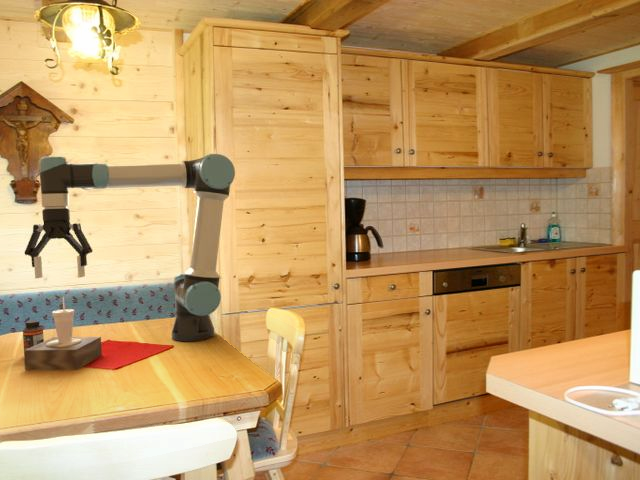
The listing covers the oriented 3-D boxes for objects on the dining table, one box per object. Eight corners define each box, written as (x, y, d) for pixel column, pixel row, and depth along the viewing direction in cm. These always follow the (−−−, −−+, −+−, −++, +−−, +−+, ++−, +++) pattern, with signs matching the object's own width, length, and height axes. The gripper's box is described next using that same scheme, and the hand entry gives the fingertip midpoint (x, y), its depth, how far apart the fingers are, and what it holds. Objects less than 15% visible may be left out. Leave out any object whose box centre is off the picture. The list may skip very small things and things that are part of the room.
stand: (101, 355, 184) (100, 335, 184) (77, 369, 168) (75, 348, 168) (54, 355, 185) (52, 336, 185) (25, 370, 169) (23, 349, 169)
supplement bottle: (20, 356, 185) (17, 322, 184) (36, 352, 190) (34, 318, 190) (32, 358, 182) (29, 323, 182) (48, 354, 188) (46, 320, 187)
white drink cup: (60, 345, 172) (57, 299, 171) (49, 342, 176) (46, 297, 175) (80, 341, 177) (77, 296, 176) (69, 338, 181) (66, 294, 180)
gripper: (101, 206, 176) (105, 274, 178) (23, 209, 178) (28, 276, 180) (89, 206, 169) (93, 278, 170) (9, 209, 171) (13, 279, 172)
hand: (60, 277), depth 175 cm, fingers open, 13 cm apart
